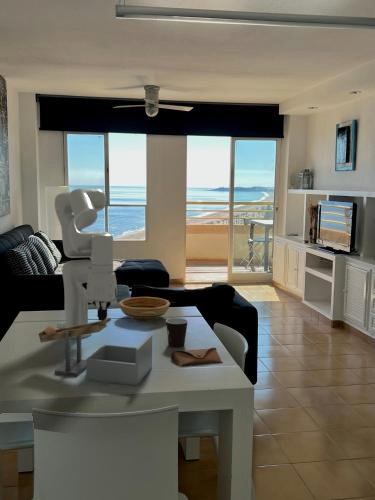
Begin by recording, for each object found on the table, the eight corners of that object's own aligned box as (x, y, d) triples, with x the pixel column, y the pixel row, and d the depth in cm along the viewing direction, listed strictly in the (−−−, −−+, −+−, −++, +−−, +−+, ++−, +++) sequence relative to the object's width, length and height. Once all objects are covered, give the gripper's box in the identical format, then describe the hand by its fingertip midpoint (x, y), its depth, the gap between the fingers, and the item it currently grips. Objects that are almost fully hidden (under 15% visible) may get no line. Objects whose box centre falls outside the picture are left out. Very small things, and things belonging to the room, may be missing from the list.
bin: (86, 379, 158) (86, 344, 156) (104, 363, 173) (104, 330, 171) (137, 385, 154) (138, 349, 152) (151, 368, 169) (152, 335, 167)
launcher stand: (54, 373, 162) (54, 332, 160) (70, 361, 174) (70, 323, 172) (76, 376, 160) (76, 335, 158) (91, 363, 172) (91, 325, 170)
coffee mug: (184, 349, 189) (185, 324, 188) (163, 347, 191) (163, 323, 190) (190, 340, 201) (191, 317, 199) (170, 338, 202) (170, 315, 201)
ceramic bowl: (116, 311, 244) (116, 296, 243) (164, 310, 249) (164, 294, 248) (121, 328, 215) (121, 311, 214) (175, 326, 220) (175, 309, 219)
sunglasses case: (178, 367, 170) (175, 348, 173) (172, 370, 176) (170, 352, 179) (224, 362, 176) (221, 344, 179) (218, 366, 182) (215, 348, 185)
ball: (44, 338, 166) (42, 328, 166) (49, 335, 169) (47, 325, 169) (53, 337, 165) (51, 326, 165) (58, 334, 169) (56, 324, 168)
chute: (40, 342, 165) (38, 333, 165) (63, 328, 181) (61, 320, 181) (99, 331, 159) (96, 322, 159) (117, 318, 176) (115, 310, 175)
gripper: (77, 269, 168) (78, 320, 170) (118, 271, 165) (118, 324, 167) (86, 266, 175) (87, 315, 177) (126, 268, 172) (125, 318, 174)
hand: (102, 319), depth 172 cm, fingers closed
